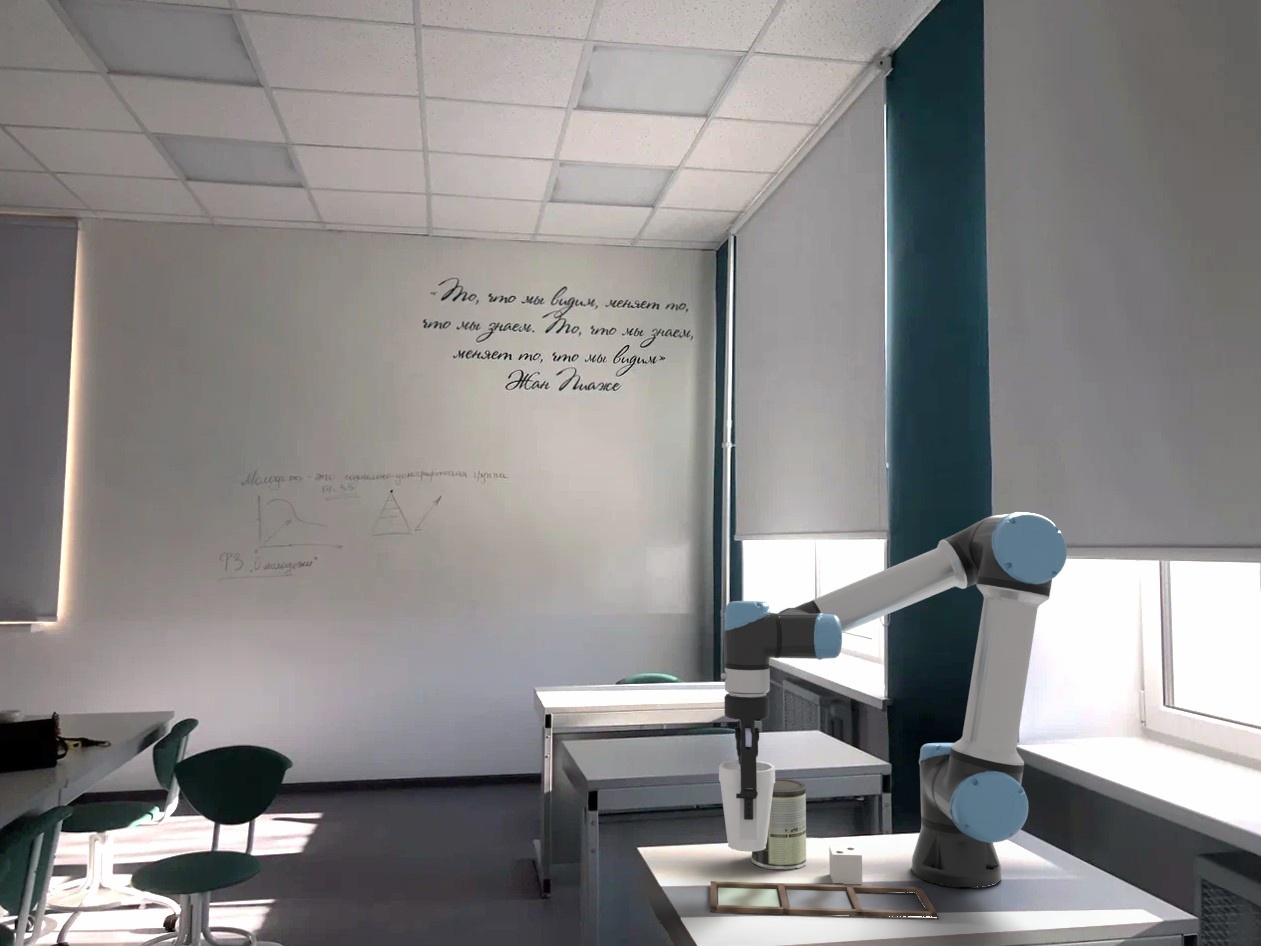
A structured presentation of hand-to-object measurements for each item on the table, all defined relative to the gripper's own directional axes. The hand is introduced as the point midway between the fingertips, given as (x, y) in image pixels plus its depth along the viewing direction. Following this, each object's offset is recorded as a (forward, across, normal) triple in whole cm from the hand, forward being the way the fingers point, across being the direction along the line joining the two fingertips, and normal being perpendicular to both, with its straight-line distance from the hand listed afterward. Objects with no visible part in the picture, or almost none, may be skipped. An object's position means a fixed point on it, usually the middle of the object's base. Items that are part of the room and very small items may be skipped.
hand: (747, 830), depth 164 cm
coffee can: (+11, -21, +7) cm, 25 cm away
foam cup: (+3, 0, 0) cm, 3 cm away
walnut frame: (+11, 0, +12) cm, 16 cm away
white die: (+11, -12, +18) cm, 24 cm away
